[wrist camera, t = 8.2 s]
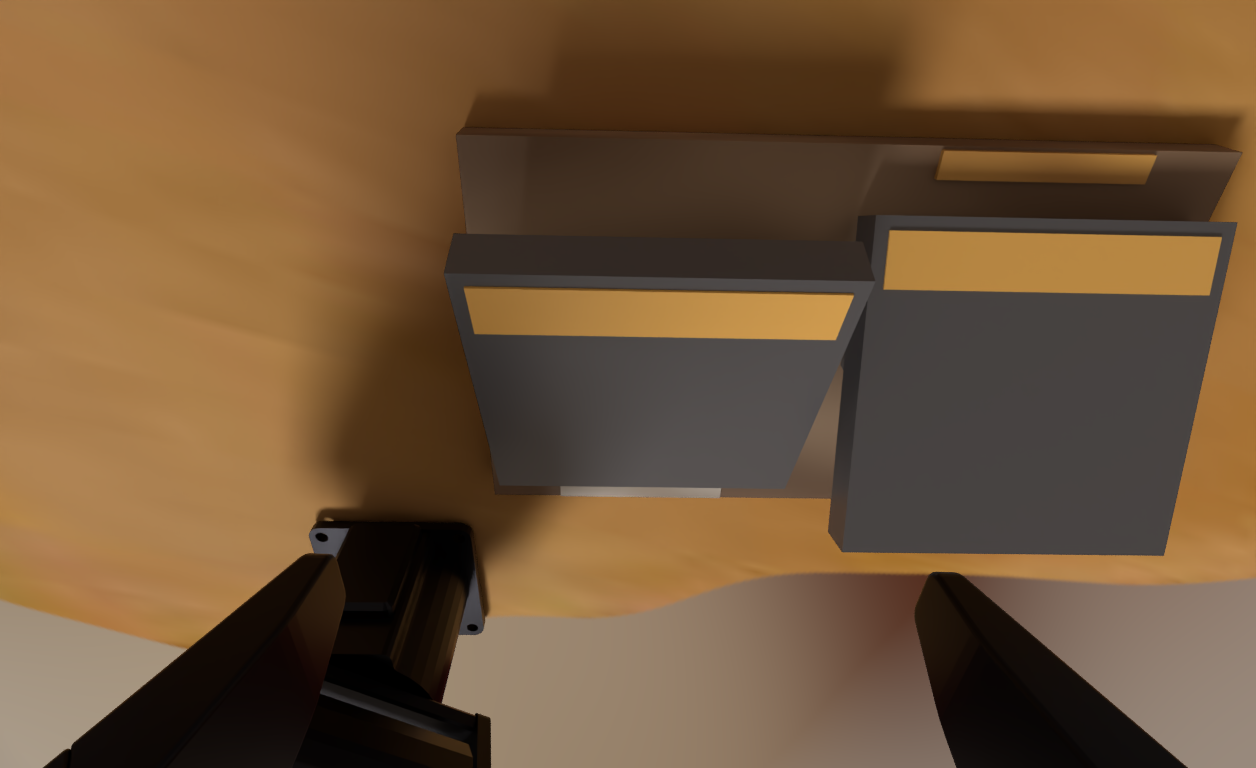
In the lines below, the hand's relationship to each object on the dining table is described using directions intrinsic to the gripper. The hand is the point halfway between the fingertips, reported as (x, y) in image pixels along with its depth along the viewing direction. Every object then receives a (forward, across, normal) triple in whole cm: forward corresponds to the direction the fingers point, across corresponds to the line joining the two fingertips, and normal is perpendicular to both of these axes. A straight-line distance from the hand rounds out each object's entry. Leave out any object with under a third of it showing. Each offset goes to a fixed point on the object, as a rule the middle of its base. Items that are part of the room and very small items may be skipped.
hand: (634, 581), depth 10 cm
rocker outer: (+10, -12, +2) cm, 15 cm away
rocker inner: (+10, -1, +3) cm, 10 cm away
